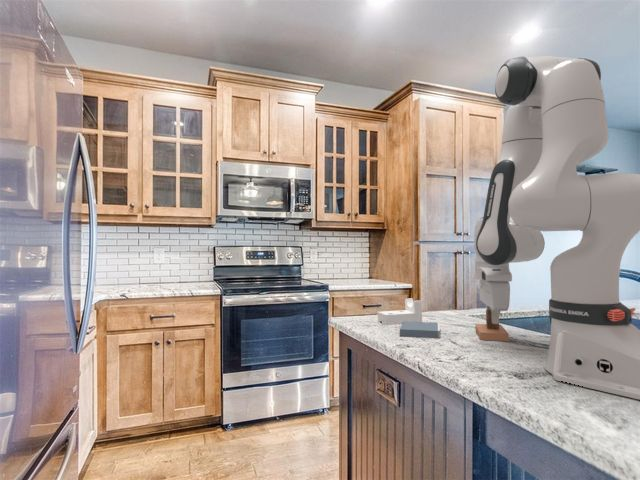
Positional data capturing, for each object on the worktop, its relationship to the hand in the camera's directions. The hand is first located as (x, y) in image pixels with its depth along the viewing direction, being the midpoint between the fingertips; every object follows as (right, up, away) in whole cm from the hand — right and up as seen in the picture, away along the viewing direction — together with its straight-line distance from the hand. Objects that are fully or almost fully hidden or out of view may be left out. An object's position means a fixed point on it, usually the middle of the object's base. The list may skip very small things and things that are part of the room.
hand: (493, 322), depth 107 cm
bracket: (-22, -5, +23) cm, 32 cm away
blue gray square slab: (-19, -4, +6) cm, 20 cm away
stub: (-1, -4, 0) cm, 4 cm away
